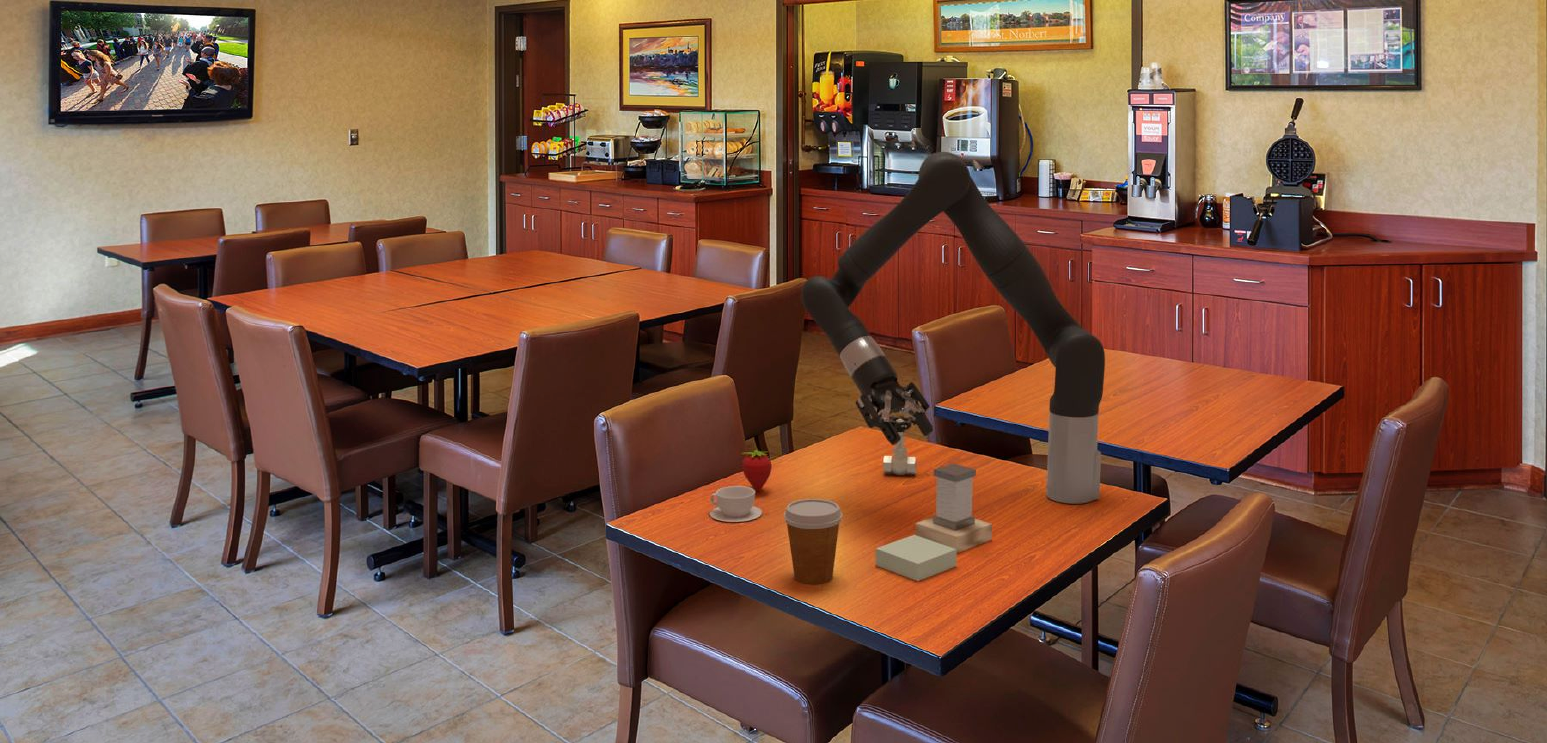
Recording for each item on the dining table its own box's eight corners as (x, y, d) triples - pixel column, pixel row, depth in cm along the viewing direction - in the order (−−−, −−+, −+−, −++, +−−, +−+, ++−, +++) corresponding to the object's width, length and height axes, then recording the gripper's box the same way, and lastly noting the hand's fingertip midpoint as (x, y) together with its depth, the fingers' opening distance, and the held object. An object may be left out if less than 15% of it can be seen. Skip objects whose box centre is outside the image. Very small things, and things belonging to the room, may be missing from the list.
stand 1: (914, 551, 207) (914, 534, 206) (956, 566, 200) (956, 549, 199) (875, 565, 200) (875, 548, 200) (917, 581, 193) (918, 564, 193)
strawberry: (746, 498, 236) (744, 449, 234) (739, 487, 243) (738, 439, 241) (775, 496, 237) (774, 447, 235) (768, 484, 244) (767, 437, 242)
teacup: (769, 509, 230) (769, 486, 229) (751, 526, 221) (750, 502, 220) (721, 504, 233) (720, 481, 232) (701, 521, 224) (700, 497, 223)
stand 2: (950, 526, 218) (950, 511, 218) (991, 540, 211) (992, 524, 211) (915, 539, 212) (915, 523, 212) (956, 553, 205) (956, 537, 204)
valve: (914, 480, 246) (914, 423, 243) (882, 478, 247) (882, 422, 244) (916, 470, 252) (917, 415, 249) (885, 469, 253) (886, 414, 251)
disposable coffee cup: (782, 567, 200) (780, 499, 198) (838, 564, 201) (838, 496, 198) (787, 589, 191) (786, 518, 188) (846, 587, 192) (846, 516, 189)
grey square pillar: (952, 516, 215) (953, 463, 212) (974, 523, 211) (976, 469, 209) (932, 523, 211) (933, 469, 209) (955, 530, 207) (956, 475, 205)
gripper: (850, 360, 214) (897, 434, 208) (905, 348, 223) (951, 419, 217) (830, 384, 219) (875, 457, 213) (884, 372, 228) (928, 441, 222)
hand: (913, 437), depth 215 cm, fingers open, 8 cm apart
